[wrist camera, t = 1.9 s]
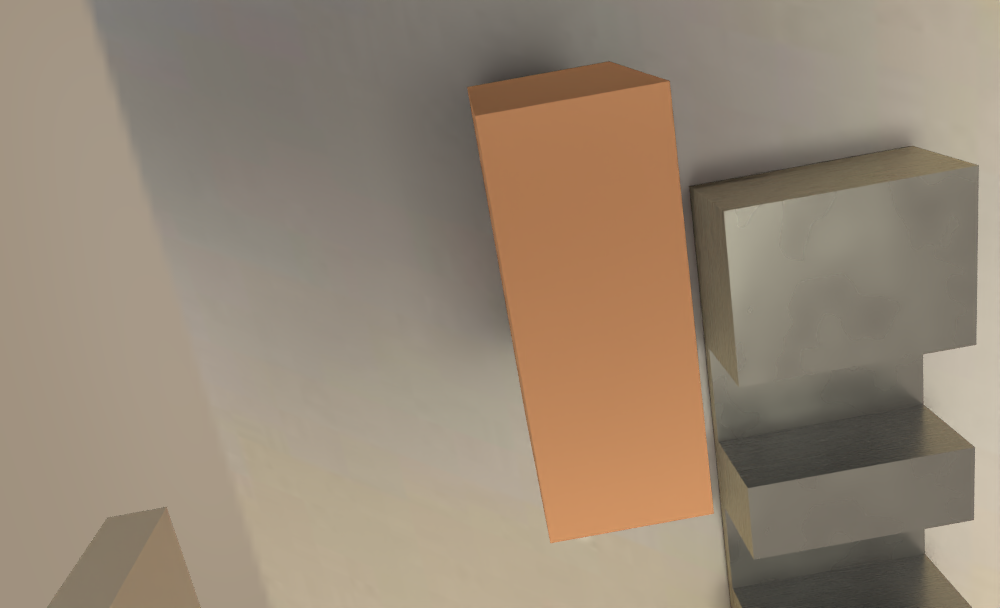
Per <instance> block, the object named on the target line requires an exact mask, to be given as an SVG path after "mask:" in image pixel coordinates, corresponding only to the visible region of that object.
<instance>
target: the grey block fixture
mask: <svg viewBox="0 0 1000 608" xmlns="http://www.w3.org/2000/svg"><path fill="white" fill-rule="evenodd" d="M978 175H979V165H976V164H972V163H969V162H966V161H962V160H959V159H955V158H952V157H949V156H945V155H942V154H938V153H935V152H932V151H928V150H925V149H921V148H918V147H915V146H910V147H904V148H899V149H893V150H888V151H882V152H876V153H871V154H865V155H860V156H854V157H849V158H843V159H838V160H832V161H827V162H821V163H816V164H810V165H804V166H799V167H793V168H788V169H782V170H777V171H771V172H766V173H760V174H755V175H749V176H744V177H738V178H732V179H727V180H721V181H716V182H710V183H705V184H699V185H694V186H689V187H690V197H691V207H692V217H693V227H694V237H695V247H696V258H697V268H698V278H699V288H700V298H701V308H702V318H703V329H704V339H705V349H706V359H707V369H708V379H709V389H710V400H711V410H712V420H713V430H714V440H715V450H716V460H717V471H718V481H719V491H720V501H721V511H722V521H723V531H724V541H725V552H726V562H727V572H728V582H729V592H730V602H731V608H972V607H971V606H970V605H969V604H968V603H967V601H966V600H965V599H964V598H963V597H962V596H961V595H960V593H959V592H958V591H957V590H956V589H955V588H954V587H953V585H952V584H951V583H950V582H949V581H948V580H947V579H946V577H945V576H944V575H943V574H942V573H941V572H940V571H939V569H938V568H937V567H936V566H935V565H934V564H933V563H932V562H931V560H930V559H929V558H928V557H927V556H926V555H925V540H924V529H926V528H932V527H938V526H943V525H949V524H954V523H960V522H965V521H971V520H974V473H975V447H974V446H973V445H972V444H970V443H969V442H968V441H967V440H966V439H964V438H963V437H962V436H961V435H960V434H958V433H957V432H956V431H955V430H954V429H952V428H951V427H950V426H949V425H947V424H946V423H945V422H944V421H943V420H941V419H940V418H939V417H938V416H937V415H935V414H934V413H933V412H932V411H931V410H929V409H928V408H927V407H926V406H925V405H923V354H927V353H933V352H938V351H944V350H949V349H955V348H960V347H966V346H971V345H976V324H977V250H978Z"/></svg>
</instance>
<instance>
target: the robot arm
mask: <svg viewBox="0 0 1000 608" xmlns="http://www.w3.org/2000/svg"><path fill="white" fill-rule="evenodd" d="M47 608H201V607H200V604H199V601H198V598H197V595H196V592H195V589H194V586H193V583H192V580H191V578H190V574H189V572H188V569H187V566H186V563H185V560H184V557H183V554H182V551H181V548H180V545H179V542H178V539H177V536H176V533H175V530H174V528H173V525H172V522H171V519H170V516H169V513H168V510H167V507H163V508H158V509H153V510H147V511H142V512H136V513H131V514H125V515H119V516H114V517H109V518H107V519H106V521H105V522H104V524H103V525H102V526H101V528H100V530H99V531H98V533H97V534H96V535H95V537H94V538H93V540H92V541H91V543H90V544H89V546H88V547H87V549H86V550H85V552H84V553H83V555H82V556H81V558H80V559H79V561H78V562H77V564H76V565H75V567H74V568H73V570H72V571H71V573H70V574H69V576H68V577H67V579H66V580H65V582H64V583H63V585H62V586H61V588H60V589H59V590H58V592H57V593H56V595H55V597H54V598H53V599H52V601H51V603H50V604H49V605H48V607H47Z"/></svg>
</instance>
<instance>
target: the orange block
mask: <svg viewBox="0 0 1000 608" xmlns="http://www.w3.org/2000/svg"><path fill="white" fill-rule="evenodd" d="M467 89H468V95H469V100H470V106H471V112H472V117H473V123H474V128H475V134H476V140H477V145H478V151H479V157H480V162H481V168H482V173H483V179H484V185H485V190H486V196H487V201H488V207H489V213H490V218H491V224H492V230H493V235H494V241H495V246H496V252H497V258H498V263H499V269H500V274H501V280H502V286H503V291H504V297H505V303H506V308H507V314H508V319H509V325H510V331H511V336H512V342H513V347H514V353H515V359H516V364H517V370H518V376H519V381H520V387H521V392H522V398H523V404H524V409H525V415H526V420H527V425H528V430H529V435H530V441H531V446H532V451H533V456H534V461H535V466H536V471H537V476H538V481H539V486H540V492H541V497H542V502H543V507H544V512H545V517H546V522H547V527H548V532H549V538H550V543H554V542H559V541H565V540H570V539H576V538H581V537H587V536H593V535H598V534H604V533H609V532H615V531H620V530H626V529H631V528H637V527H642V526H648V525H653V524H659V523H664V522H670V521H675V520H681V519H686V518H692V517H698V516H703V515H709V514H714V510H713V501H712V491H711V481H710V471H709V462H708V452H707V442H706V432H705V422H704V413H703V403H702V393H701V383H700V373H699V364H698V354H697V344H696V334H695V324H694V315H693V305H692V295H691V285H690V276H689V266H688V256H687V246H686V236H685V227H684V217H683V207H682V197H681V187H680V178H679V168H678V158H677V148H676V138H675V129H674V119H673V109H672V99H671V90H670V81H668V80H665V79H662V78H659V77H656V76H653V75H650V74H646V73H643V72H640V71H637V70H634V69H631V68H628V67H625V66H622V65H619V64H616V63H612V62H603V63H598V64H592V65H587V66H581V67H576V68H570V69H565V70H559V71H554V72H548V73H542V74H537V75H531V76H526V77H520V78H515V79H509V80H504V81H498V82H493V83H487V84H481V85H476V86H470V87H467Z"/></svg>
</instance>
